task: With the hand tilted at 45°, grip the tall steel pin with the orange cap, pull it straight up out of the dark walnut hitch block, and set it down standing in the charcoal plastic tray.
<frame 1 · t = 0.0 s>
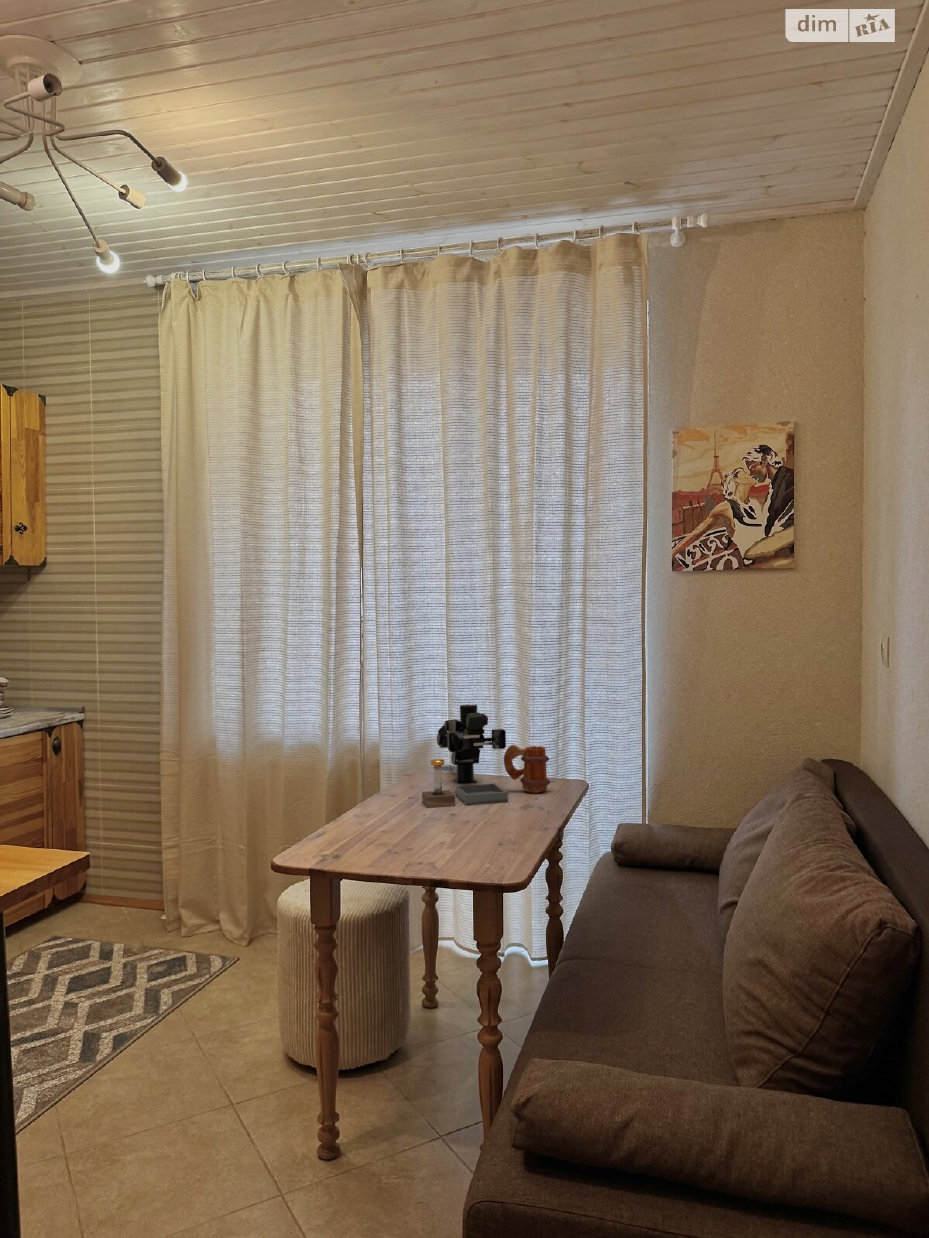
hand: (483, 744, 283), 17 cm above the table, tool horizontal, fingers open, 9 cm apart
tray: (481, 798, 282), on the table
hitch block: (438, 803, 277), on the table
pin: (437, 782, 276), in the hitch block
mug: (527, 792, 291), on the table
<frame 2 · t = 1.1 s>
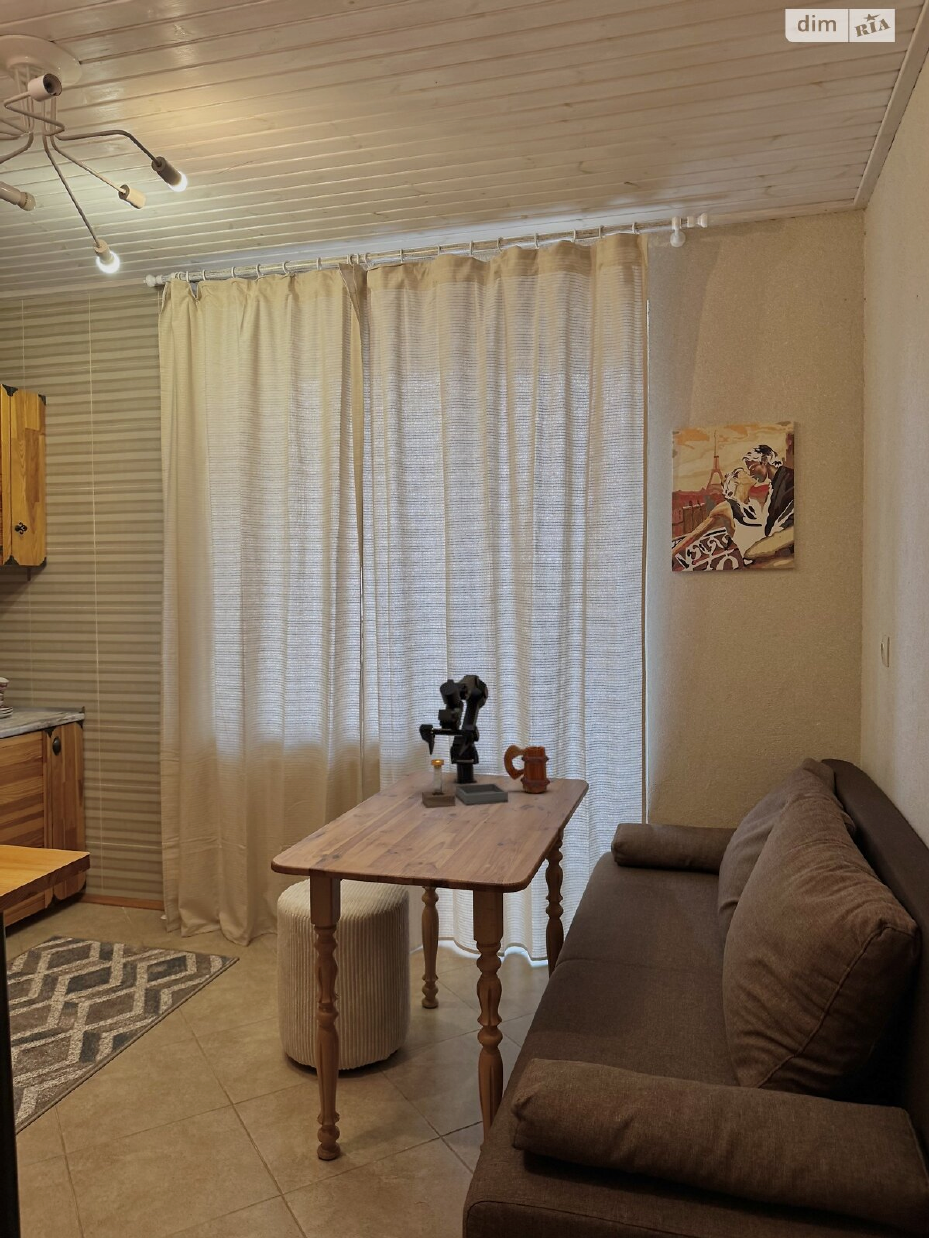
hand: (444, 754, 284), 14 cm above the table, tool tilted 45°, fingers open, 9 cm apart
nothing on the table moved.
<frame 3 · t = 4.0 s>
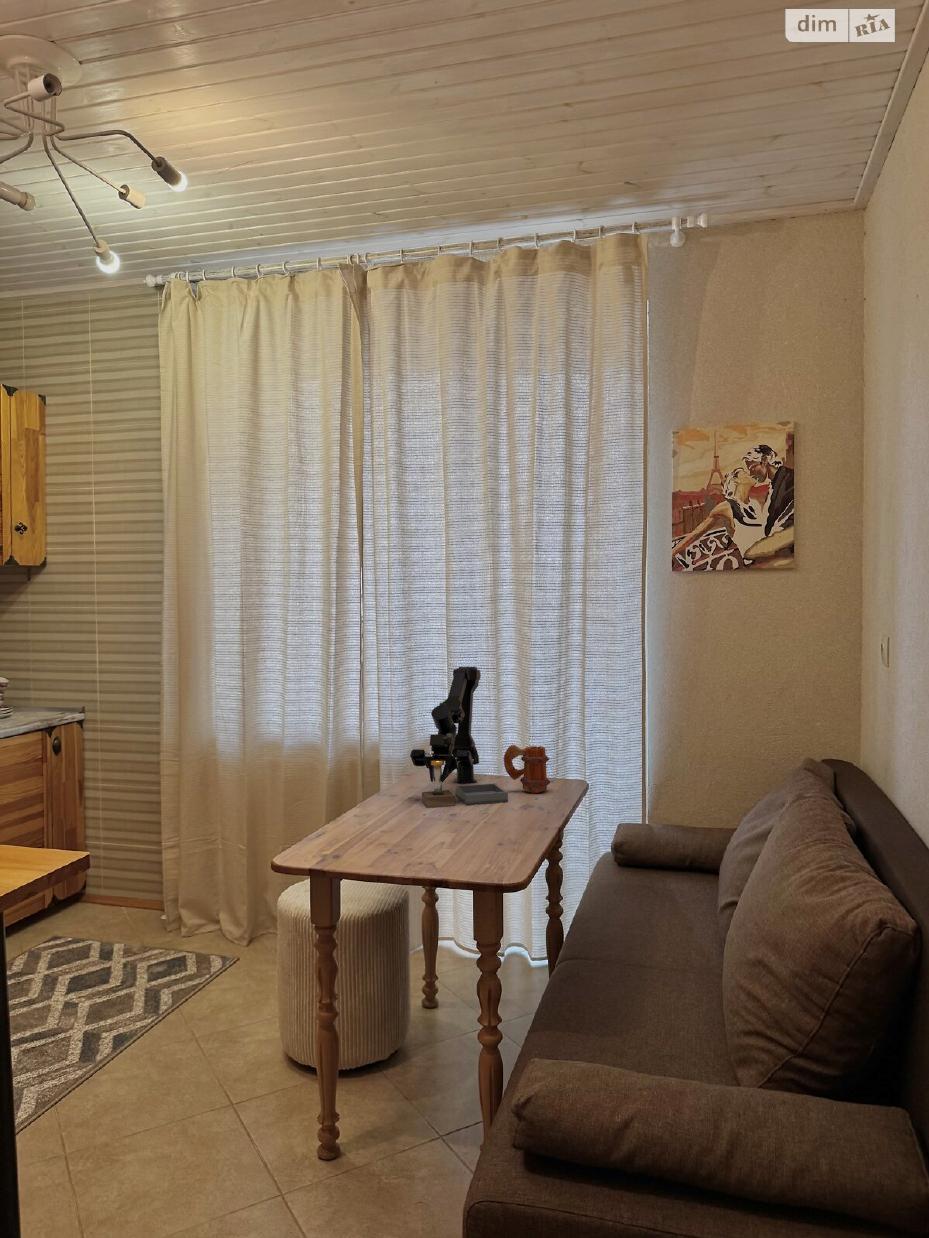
hand: (436, 781, 275), 7 cm above the table, tool tilted 45°, fingers closed on pin, 3 cm apart
pin: (437, 782, 276), in the hitch block, touching gripper
everything else where it was.
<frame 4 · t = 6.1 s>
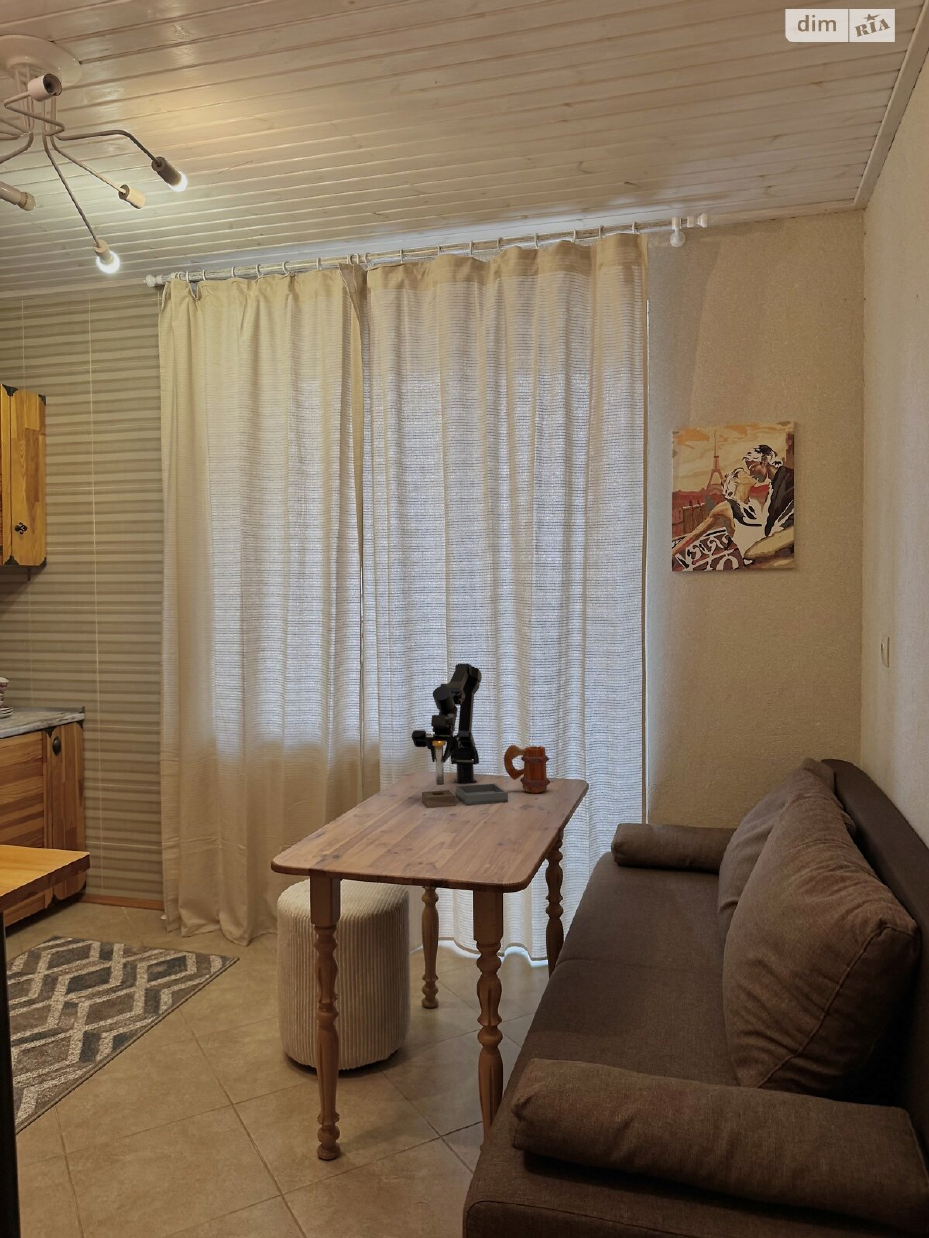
hand: (438, 761, 275), 13 cm above the table, tool tilted 45°, fingers closed on pin, 3 cm apart
pin: (439, 762, 276), point 12 cm above the table, touching gripper
everything else where it was.
when the fingers open (9 cm above the table, at t = 8.5 s): pin stays where it is, resting on tray.
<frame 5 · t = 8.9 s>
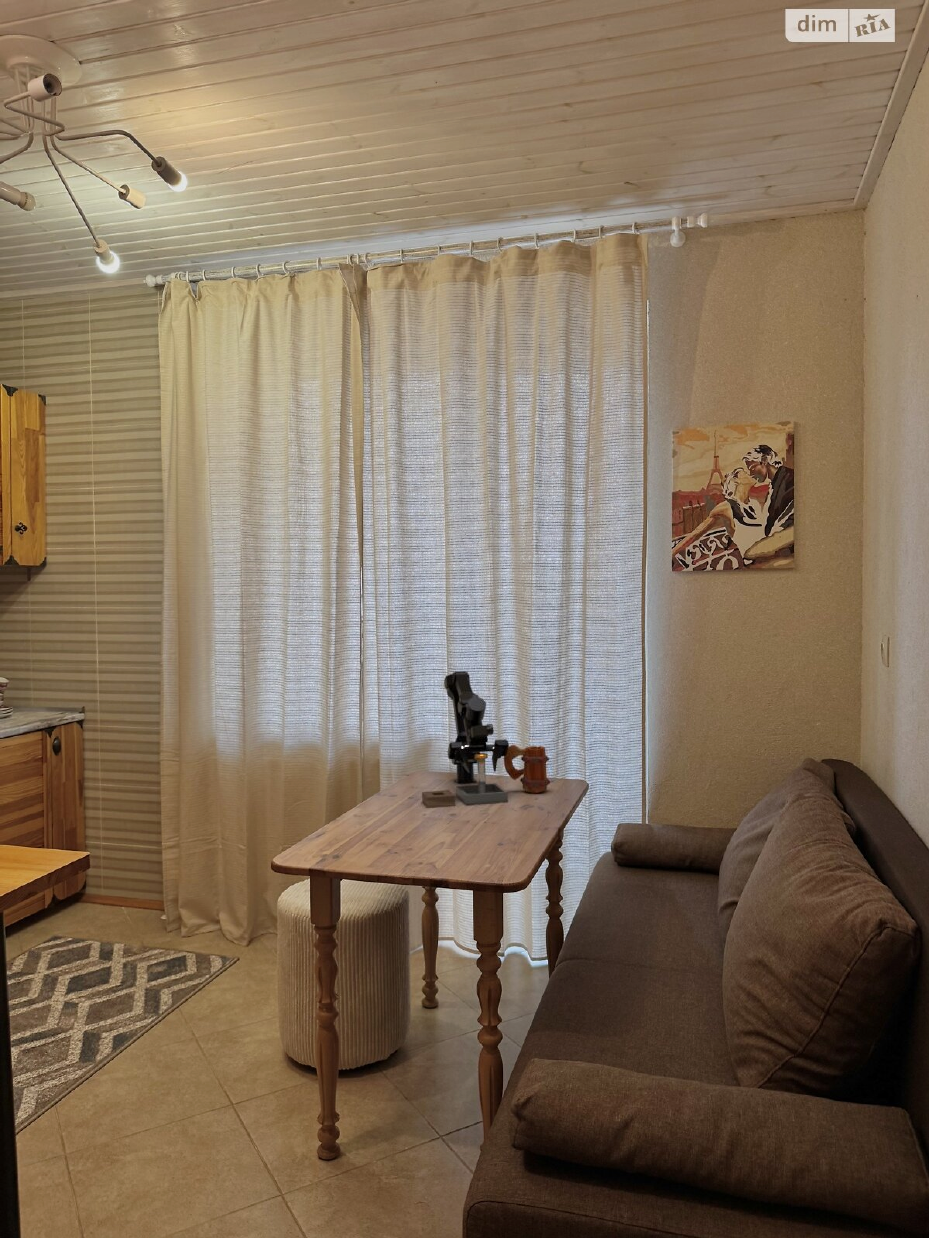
hand: (482, 771, 279), 9 cm above the table, tool tilted 45°, fingers open, 8 cm apart
pin: (481, 775, 281), in the tray, point 7 cm above the table
everything else where it was.
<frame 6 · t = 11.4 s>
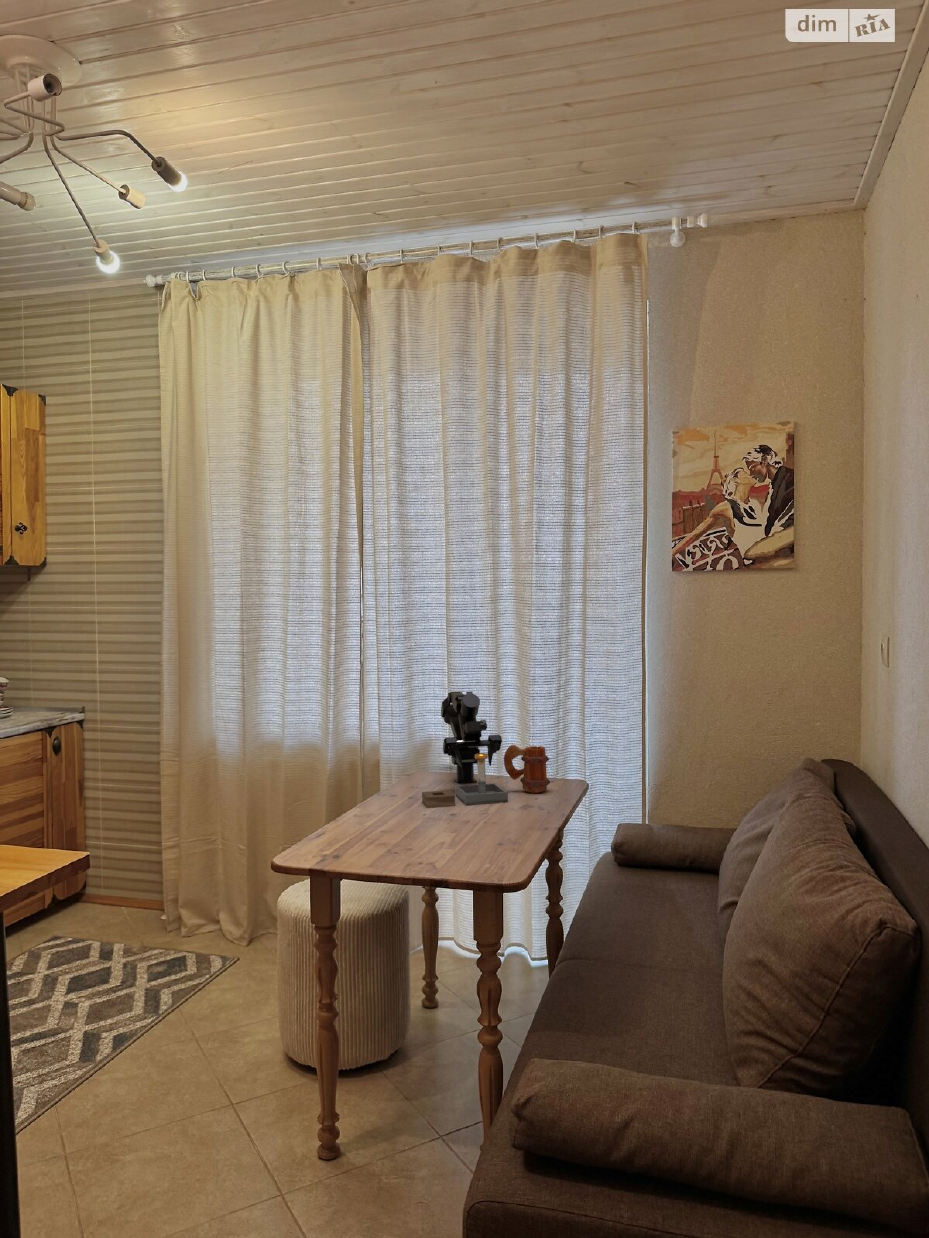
hand: (476, 765, 289), 9 cm above the table, tool tilted 45°, fingers open, 9 cm apart
nothing on the table moved.
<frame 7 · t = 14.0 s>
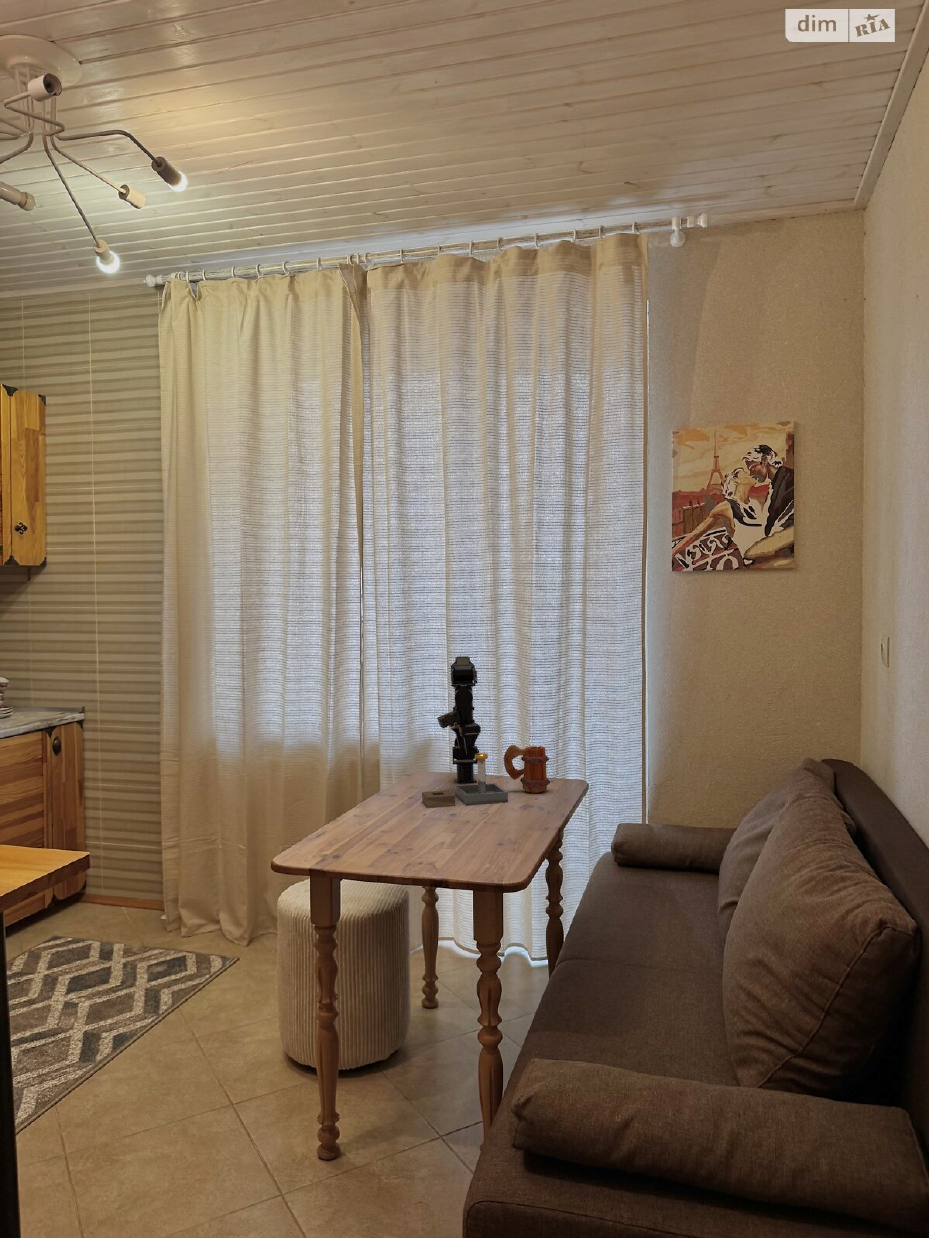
hand: (465, 752, 291), 13 cm above the table, tool pointing down, fingers open, 9 cm apart
nothing on the table moved.
at the end: pin inside the target area on the tray (0.9 cm from its centre), point 7.4 cm above the tray's base; pin moved 14.1 cm from its start; the gripper is holding nothing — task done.
